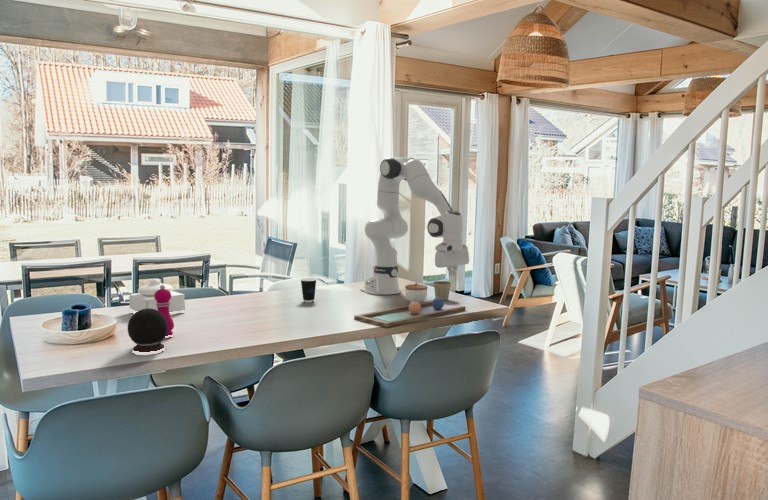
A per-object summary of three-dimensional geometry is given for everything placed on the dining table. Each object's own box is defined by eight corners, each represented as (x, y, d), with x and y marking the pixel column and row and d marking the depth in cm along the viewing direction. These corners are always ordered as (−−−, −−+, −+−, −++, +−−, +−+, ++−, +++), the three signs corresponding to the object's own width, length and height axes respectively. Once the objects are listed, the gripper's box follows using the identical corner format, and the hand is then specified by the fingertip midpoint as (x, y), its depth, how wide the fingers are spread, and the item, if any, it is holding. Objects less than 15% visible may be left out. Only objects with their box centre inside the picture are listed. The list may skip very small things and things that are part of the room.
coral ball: (406, 313, 281) (406, 301, 280) (414, 312, 284) (414, 300, 284) (414, 315, 276) (414, 303, 276) (423, 314, 280) (423, 301, 280)
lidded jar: (431, 301, 308) (432, 282, 307) (417, 305, 300) (417, 285, 299) (415, 298, 315) (415, 280, 314) (400, 302, 307) (400, 282, 306)
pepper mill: (157, 335, 243) (155, 283, 241) (176, 334, 244) (174, 283, 242) (152, 339, 236) (149, 286, 234) (171, 339, 237) (169, 286, 234)
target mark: (372, 317, 273) (372, 317, 273) (395, 313, 282) (395, 312, 282) (394, 323, 262) (394, 322, 262) (418, 318, 272) (418, 317, 272)
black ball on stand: (140, 358, 212) (138, 314, 210) (121, 351, 220) (119, 309, 219) (176, 350, 221) (174, 308, 220) (157, 344, 230) (155, 303, 228)
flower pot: (451, 298, 317) (451, 281, 316) (451, 301, 308) (451, 284, 307) (432, 297, 318) (432, 280, 317) (432, 301, 308) (432, 284, 307)
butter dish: (167, 307, 295) (166, 274, 293) (185, 313, 282) (184, 278, 280) (129, 313, 282) (128, 278, 281) (147, 320, 270) (145, 283, 268)
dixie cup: (306, 299, 314) (306, 277, 313) (320, 300, 311) (319, 278, 309) (297, 302, 307) (297, 279, 306) (311, 303, 303) (310, 280, 302)
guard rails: (354, 319, 270) (354, 315, 270) (433, 303, 303) (433, 300, 303) (385, 327, 255) (385, 323, 255) (465, 310, 288) (465, 306, 288)
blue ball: (429, 309, 291) (429, 297, 290) (437, 307, 294) (437, 295, 294) (438, 311, 286) (438, 299, 286) (446, 309, 290) (446, 297, 290)
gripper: (462, 243, 303) (461, 272, 304) (432, 246, 289) (432, 276, 291) (472, 244, 298) (472, 273, 300) (443, 248, 284) (442, 278, 286)
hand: (452, 275), depth 295 cm, fingers closed
